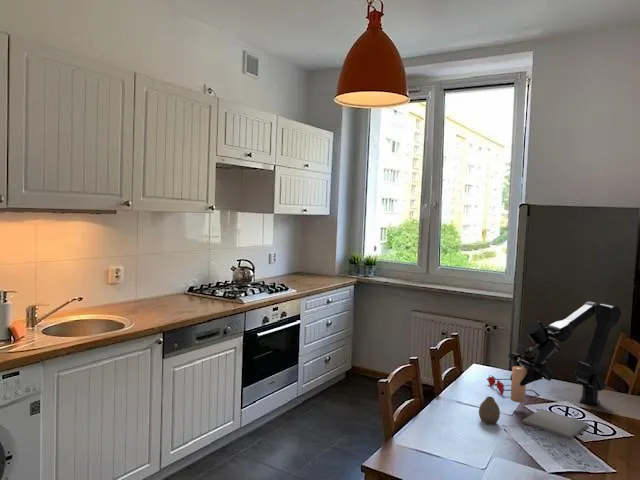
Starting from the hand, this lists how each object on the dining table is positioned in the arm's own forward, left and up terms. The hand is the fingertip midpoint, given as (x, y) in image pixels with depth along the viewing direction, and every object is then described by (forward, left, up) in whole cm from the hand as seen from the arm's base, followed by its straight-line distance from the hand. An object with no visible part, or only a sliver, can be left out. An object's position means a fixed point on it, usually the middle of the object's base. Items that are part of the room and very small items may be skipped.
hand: (515, 382), depth 189 cm
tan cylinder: (-1, +1, -7) cm, 7 cm away
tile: (+4, +15, -10) cm, 19 cm away
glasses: (-23, -6, -11) cm, 26 cm away
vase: (+18, -4, -10) cm, 21 cm away
